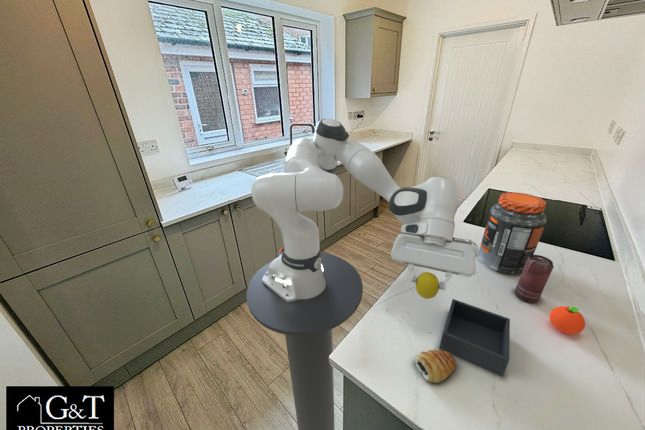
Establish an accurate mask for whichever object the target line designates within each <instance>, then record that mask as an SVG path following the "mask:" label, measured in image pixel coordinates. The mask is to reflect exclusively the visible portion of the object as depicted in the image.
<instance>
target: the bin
mask: <svg viewBox="0 0 645 430" xmlns="http://www.w3.org/2000/svg"><path fill="white" fill-rule="evenodd" d="M510 329H511V319H510V318H509V317H506V316H504V315H500V314H498V313H495V312H492V311H488V310H487V309H483V308H480V307H478V306H475V305H472V304H470V303H469V304H468V303H466V302H464V301H460V300H458V299H454V298H452V300H451V304H450V307H449V310H448V313H447V317H446V321H445V325H444V327H443V331H442V335H441V339H440V343H439V348H438V350H442V351H447V352H449V353H451V354H452V355H453V356H455V357H457V358H459V359H461V360H464V361H466V362H468V363H470V364H473V365H475V366H477V367H480V368H482V369H484V370H486V371H488V372H490V373H492V374H495V375H496V376H500V377H503V375H504V373H505V370H506V369H507V368H508V367H507V366H508V364H509V362H510V337H511V336H510V335H511V334H510V332H511V330H510Z"/></svg>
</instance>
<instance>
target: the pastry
mask: <svg viewBox="0 0 645 430" xmlns="http://www.w3.org/2000/svg"><path fill="white" fill-rule="evenodd" d="M413 361H414V364H415V366H416V368H417V370H418V371H419V372H420V373H421V374H422V377H423V378H424V379H425V380H426V381H428V382H430V383H436V384H437V383H441V382H443V381H444V380H446V379H447V378H448V377H449V376H451V374H452V373H453V372H454V371H455V370H456V368H457V360H456V359H455V357H454V355H453V354H451V353H449V352H447V351H444V350H442V349H438V350H437V349H432V350H431V349H429V350H427V351H421V352H420V353H419V354H418V355H416V356H414V358H413Z"/></svg>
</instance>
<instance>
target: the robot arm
mask: <svg viewBox="0 0 645 430" xmlns="http://www.w3.org/2000/svg"><path fill="white" fill-rule="evenodd" d="M349 137H350V134H349V133H348V131H347V130H346V127H345V126H344V125H343V124H342V123H341V122H340V121H338V120H336V119H333V118H322V119H321V120H319V121H318V122H317V123H316V126H315V129H314V135H313V139H310V138H307V137H300V138H297V139H296V140H295V141H293V143H292V144H291V145H290V146H289V149H288V151H287V154H286V158H285V161H284V165H283V172H273V173H268V174H264V175H261V176H258V177H257V178H256V179H255V180H254V182H253V183H252V186H251V199H252V202H253V204H254V205H255V206H256V208H258V210H260V211H262V212H263V213H266V214H267V215H268V216H269V217H270V218H271V219H272V220H273V221H274V222H275V223H276V224H277V226H278V228H279V231H280V233H281V237H282V241H283V246H282V248H280V249H279V250H278V251H277V252H278V253H276V258H275V259H273V260H271V261H272V262H271V261H270V262H271V264H270V265H269V268H268V271H267V272H266V273H265V274H264V276H263V278H262V282H263V283H264V284H265V285H267V286H268V287H269V288H270V289H272V290H273V291H274V292H275V293H277V294H278V295H279V296H280V297H282V298H283V299H284V300H285V301H287V302H292V301H295V300H300V299H310V298H313V297H316V296H318V295H319V294H321V293H322V292H323V290H324V289H325V287H326V280H325V277H324V274H323V267H322V264H321V260H322V256H321V252H322V246H321V245H320V230H319V229H320V228H319V226H318V225H317V224H316V222H315V221H314V220H312V219H311V218H310V217H307V216H305V215H303V214H302V213H301V212H323V211H328V210H329V211H330V210H333V209H336V208H337V207H339V205H341V202H342V201H343V198H344V191H345V190H344V184H343V182H342V181H341V179H340V177H339V176H338V175H337V174H335V172H336V170H337V166H338V165H337V164H338V162H339V163H341V164H342V165H343V167H344V169H345V170H346V171H347V172H348V173H349V174H350V175H351V176H352V177H353V178H354V179H356V181H358V182H360V183H361V184H362V185H364V186H366V187H367V188H369V189H370V190H372V191H373V192H375V193H376V194H378V195H379V196H381V197H382V198H383V199H384V200H385V201H387V203H388V208H389V211H390V212H391V213H392V215H393V216H394V217H395V218H396V219H397V220H398V221H399V222H400V223H402V225H401V227H400V234H398V235H397V236H396V237H395V240H394V242H393V245H392V248H391V251H390V258H391V260H392V261H393V262H395V263H400V264H405V265H408V266H407V270H408V272H409V274H410V280H409V283H411V284H416V280H417V278H418V275H415V274H414V272H413V270H414V269H415V267H418V268H425V269H428V270H433V271H438V272H443V273H445V274H444V277H446V279H444V280H443V281H438V282H439V289H438V290H442V291H446V287H447V283H449V281H450V280H451V279H452V278H453V275H456V276H462V277H465V278H471V277H473V276H474V275H475V274H476V270H477V269H476V268H477V267H476V266H477V264H476V262H477V261H476V258H477V257H478V256H479V246H478V244H477V243H476V242H474V241H473V240H472V239H465V238H464V239H463V238H459V237H455V236H454V234H455V225H456V223H455V215H456V214H457V211H458V202H459V190H458V189H459V188H458V185H457V184H456V183H455V182H454V181H453V180H452V179H450V178H448V177H444V176H432V177H430V178H428V179H427V180H426V181H424V182H422V183H419V184H417V185H413V186H406V187H400V186H399V185H398V184H397V183H396V182H395V180H394V179H393V178H392V175H391V174H390V173H389V171H388V170H387V168H386V166H385V165H384V163H383V161H382V160H381V159H380V158H379V157H378V155H377V154H376V153H375V152H374V151H372V150H371V149H370V148H368V147H367V146H366V145H363V144H362V143H360V142H358V141H355V140H348V139H349ZM287 296H288V297H287Z"/></svg>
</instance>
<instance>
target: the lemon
mask: <svg viewBox="0 0 645 430" xmlns="http://www.w3.org/2000/svg"><path fill="white" fill-rule="evenodd" d="M439 282H440V281H439V279H438V278H437V276H436V275H435V274H434V273H432V272H430V271H424V272H421V273H420V274H419V275H417V280H416V283H415V291H416V292H417V295H419V296H420V298H423V299H426V300H429V299H433V298H434V297H436V295H437V294H438V293H439V290H440V289H439Z"/></svg>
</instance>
